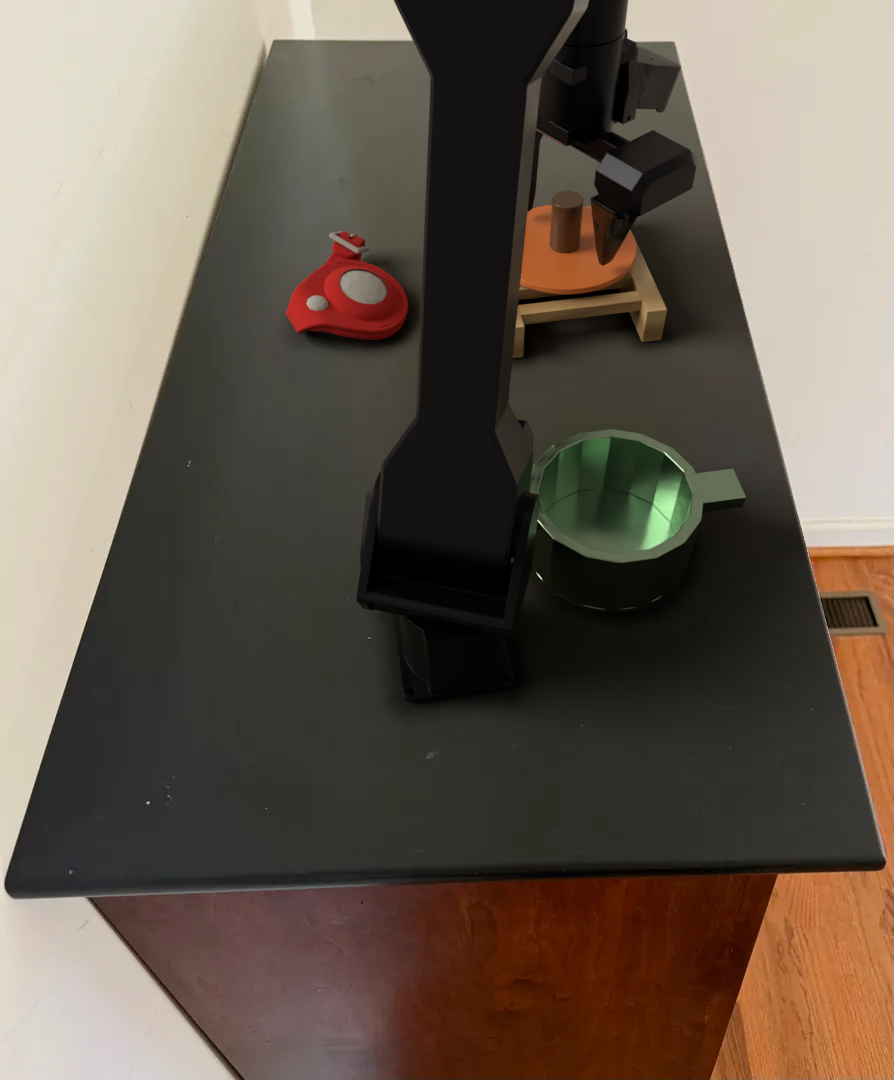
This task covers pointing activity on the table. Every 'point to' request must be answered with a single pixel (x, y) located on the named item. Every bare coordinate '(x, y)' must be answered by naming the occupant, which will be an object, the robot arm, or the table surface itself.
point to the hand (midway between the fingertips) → (564, 236)
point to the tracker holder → (348, 295)
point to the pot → (620, 518)
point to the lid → (569, 249)
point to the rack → (600, 305)
